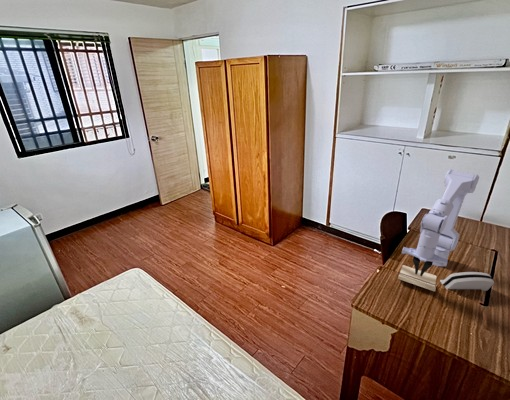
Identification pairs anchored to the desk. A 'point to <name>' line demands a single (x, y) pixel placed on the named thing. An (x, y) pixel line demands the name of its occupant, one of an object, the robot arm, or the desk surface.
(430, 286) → the board
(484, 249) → the desk surface
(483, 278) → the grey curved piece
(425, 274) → the laid board
